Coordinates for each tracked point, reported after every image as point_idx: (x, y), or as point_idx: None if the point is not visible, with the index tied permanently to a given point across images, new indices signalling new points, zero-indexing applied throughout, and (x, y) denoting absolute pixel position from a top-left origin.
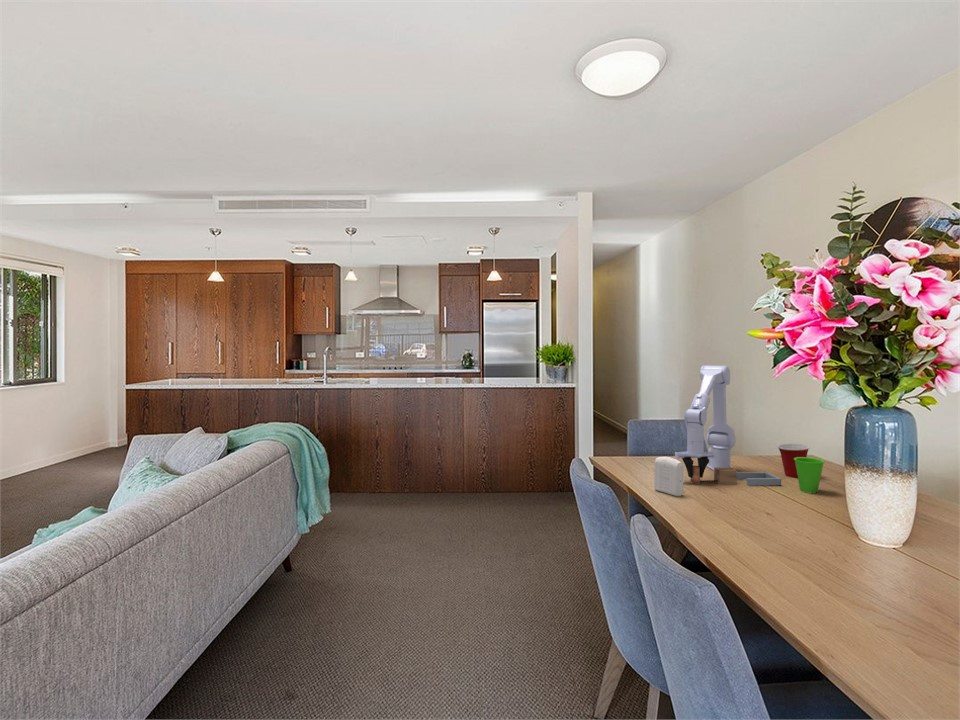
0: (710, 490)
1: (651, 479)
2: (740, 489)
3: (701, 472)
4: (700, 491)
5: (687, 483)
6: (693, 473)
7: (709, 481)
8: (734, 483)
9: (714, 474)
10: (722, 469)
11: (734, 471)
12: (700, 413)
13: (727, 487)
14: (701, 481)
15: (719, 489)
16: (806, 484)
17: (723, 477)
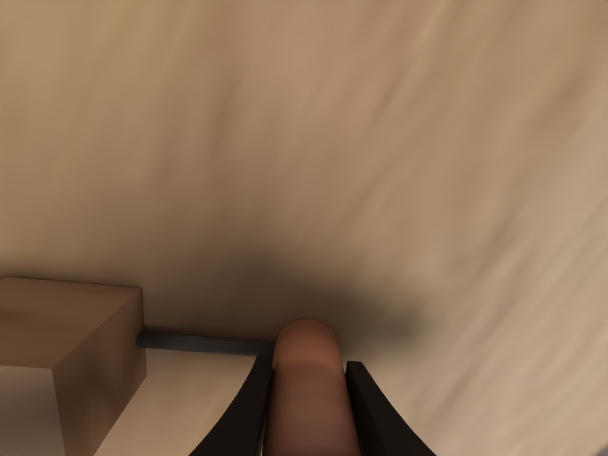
0: (309, 119)
1: (557, 431)
2: (27, 119)
3: (266, 387)
4: (412, 98)
5: (378, 327)
6: (343, 389)
7: (201, 338)
8: (18, 279)
9: (116, 413)
10: (2, 412)
11: None
12: None
13: (119, 193)
14: (263, 343)
15: (215, 141)
16: None
17: (73, 316)
